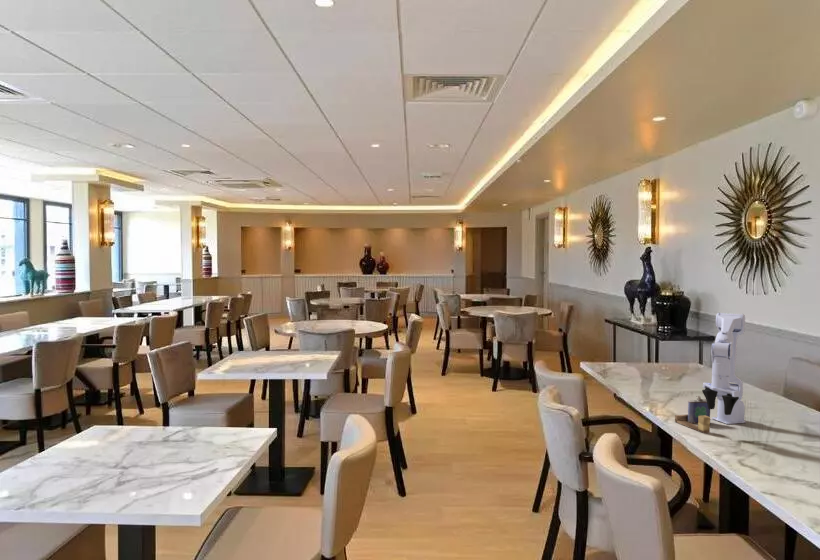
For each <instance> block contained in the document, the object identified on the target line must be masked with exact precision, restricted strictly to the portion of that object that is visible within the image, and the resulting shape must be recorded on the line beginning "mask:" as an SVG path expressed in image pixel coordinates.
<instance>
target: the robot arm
mask: <svg viewBox="0 0 820 560" xmlns="http://www.w3.org/2000/svg"><path fill="white" fill-rule="evenodd" d="M745 325H746V316H745V314H744V313H729V312H728V313H726V312H717V313H716V314H715V326H716V329H717V331H718V332H717V334H716V336H715V340H714V342H713V343H711V345H710V355H711V362H712V364H711V365H712V366H711V368H712V369H711V383H710V382H703V383H702V388H703V389H702V391H701V392H702V394H703V396H704V397H705V398H704V399H706V401H707V405H708V409H710V410H714V409H715V408H716V399H717V411H716V412H717V415H716V416H715V417H711V420H716V421H718V422H720V423H724V424H726V425H732V424H744V423H747V422H746V420H745V409H746V408H745V404H744V402H743V400H742V399H743V395H744V387H743V385H744V383H743V381H742V379H741V378H739V377H738V376H737V375H736V370H737V369H736V368H737V349H738V347H737V344H738V338H739V336H741V335H744V333H745Z"/></svg>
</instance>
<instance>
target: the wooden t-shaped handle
mask: <svg viewBox="0 0 820 560" xmlns="http://www.w3.org/2000/svg"><path fill="white" fill-rule="evenodd" d="M674 422H675V423H678V424H680V425H682V426H685V427H687V428H691V429H692V430H696V431H698V432H701V434H702V433H703V434H710V431H711V430H710V429H711V427H710V426H711V416H710V417H708V416H705V415H703V416H698V424H692V423H689V422H688V413H687V414H675V415H674Z"/></svg>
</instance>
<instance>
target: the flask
mask: <svg viewBox="0 0 820 560" xmlns="http://www.w3.org/2000/svg"><path fill="white" fill-rule="evenodd" d="M687 402H688V406H687V414H688V422H689V423H691V424H694V425H698V416H703V415H705V416H708V417H710V418H711V409H708V405H707V401H706V398H703V399H702V398H701V396H700V395H697V396H696V399H694V400H693V399H692V400H688V401H687Z"/></svg>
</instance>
